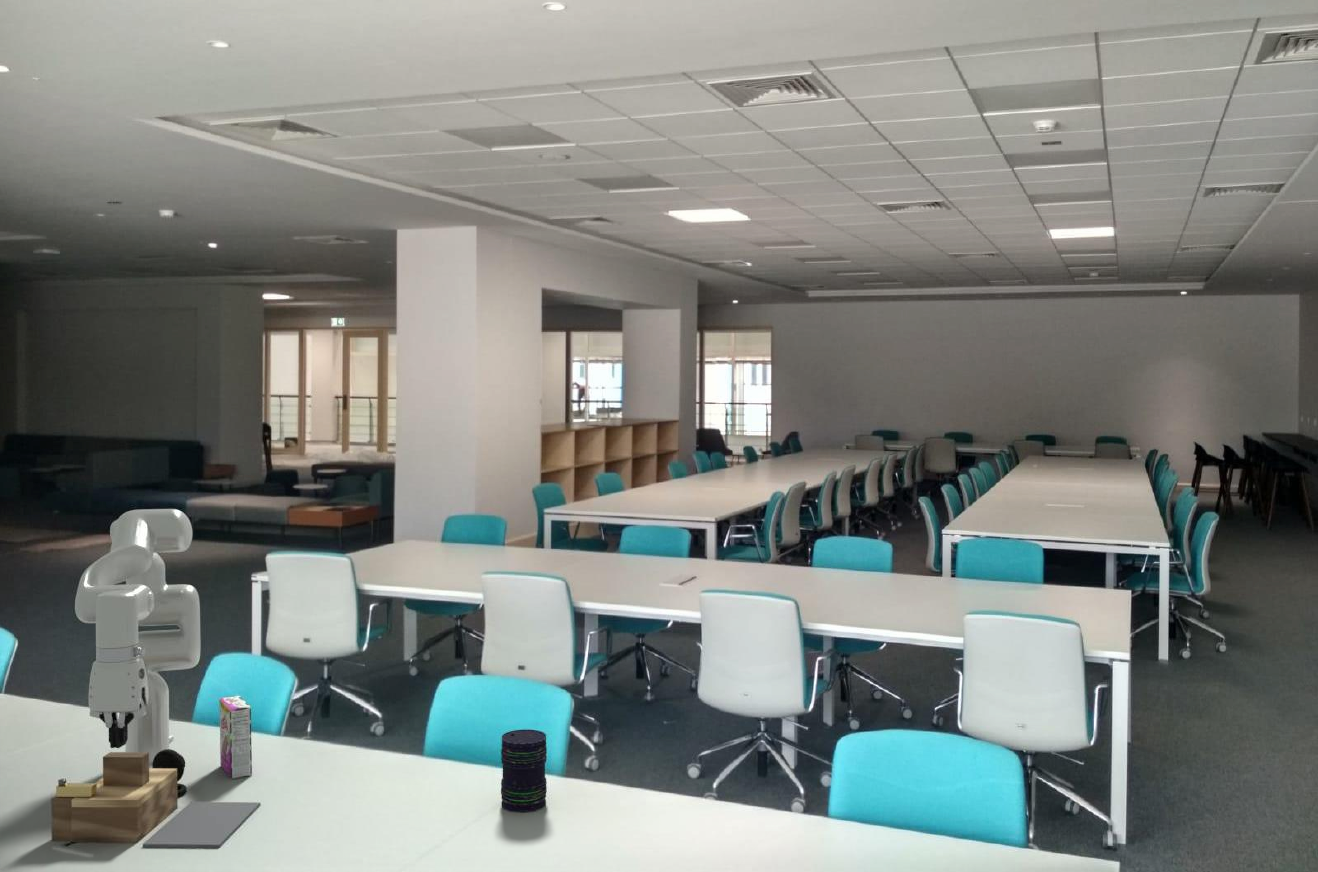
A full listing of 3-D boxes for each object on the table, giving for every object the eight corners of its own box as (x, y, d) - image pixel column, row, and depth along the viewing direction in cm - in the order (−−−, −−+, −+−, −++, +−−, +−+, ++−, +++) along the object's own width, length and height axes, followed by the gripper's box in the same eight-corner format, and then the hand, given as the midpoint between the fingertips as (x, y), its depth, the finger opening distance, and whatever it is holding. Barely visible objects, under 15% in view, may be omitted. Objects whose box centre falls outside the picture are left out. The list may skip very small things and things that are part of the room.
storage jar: (555, 800, 241) (555, 733, 240) (531, 816, 232) (531, 746, 231) (516, 793, 245) (516, 727, 244) (491, 808, 236) (491, 739, 235)
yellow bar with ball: (61, 793, 219) (61, 778, 219) (96, 793, 219) (96, 778, 219) (56, 796, 217) (56, 781, 217) (91, 797, 217) (91, 782, 217)
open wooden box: (96, 807, 234) (96, 768, 234) (177, 808, 234) (177, 768, 234) (49, 842, 216) (49, 799, 216) (137, 842, 216) (137, 800, 216)
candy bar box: (218, 766, 261) (218, 698, 260) (240, 762, 263) (240, 694, 263) (230, 780, 251) (229, 709, 251) (252, 776, 254) (252, 706, 254)
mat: (190, 804, 236) (190, 802, 236) (260, 805, 236) (260, 802, 236) (142, 847, 214) (142, 844, 214) (219, 847, 214) (219, 844, 214)
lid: (116, 775, 234) (115, 740, 234) (177, 775, 234) (176, 740, 234) (71, 807, 216) (71, 769, 216) (137, 807, 216) (137, 770, 216)
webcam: (195, 790, 245) (194, 746, 244) (170, 802, 238) (169, 757, 237) (167, 786, 247) (166, 742, 247) (141, 798, 240) (141, 753, 240)
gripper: (163, 650, 221) (164, 740, 221) (89, 649, 221) (90, 740, 221) (146, 658, 213) (147, 752, 214) (69, 658, 213) (70, 752, 214)
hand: (118, 746), depth 217 cm, fingers closed
